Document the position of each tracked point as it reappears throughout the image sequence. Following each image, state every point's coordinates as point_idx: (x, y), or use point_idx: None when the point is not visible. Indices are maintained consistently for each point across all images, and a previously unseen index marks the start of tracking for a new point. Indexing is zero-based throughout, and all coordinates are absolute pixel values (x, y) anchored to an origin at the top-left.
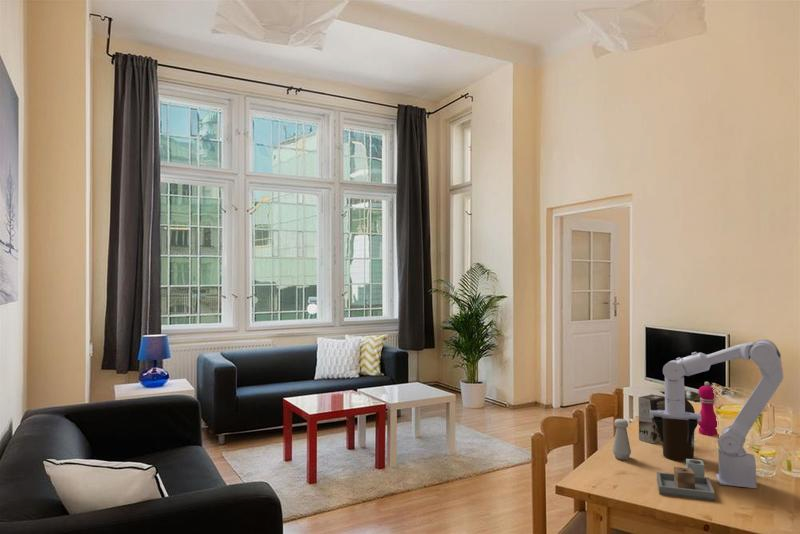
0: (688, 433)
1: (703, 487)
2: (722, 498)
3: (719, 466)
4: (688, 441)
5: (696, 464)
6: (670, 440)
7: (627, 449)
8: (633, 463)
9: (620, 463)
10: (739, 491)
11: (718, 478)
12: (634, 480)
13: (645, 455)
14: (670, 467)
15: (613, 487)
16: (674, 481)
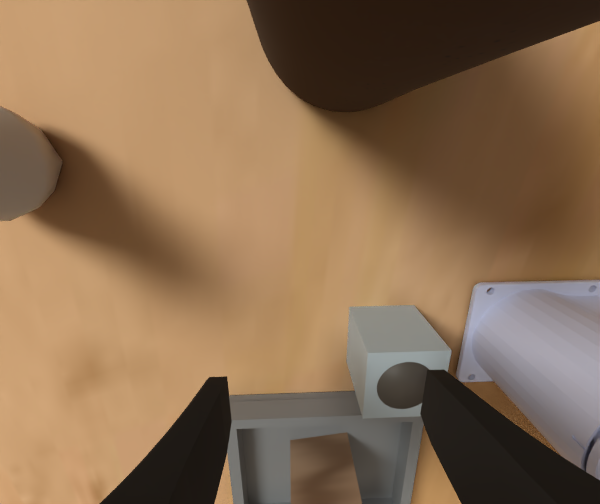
0: (478, 495)
1: (386, 438)
2: (425, 472)
3: (511, 385)
4: (431, 435)
5: (403, 416)
6: (303, 69)
7: (11, 204)
8: (107, 237)
9: (47, 259)
10: (501, 408)
11: (469, 338)
12: (151, 430)
13: (146, 53)
14: (288, 236)
15: (97, 501)
16: (290, 453)
